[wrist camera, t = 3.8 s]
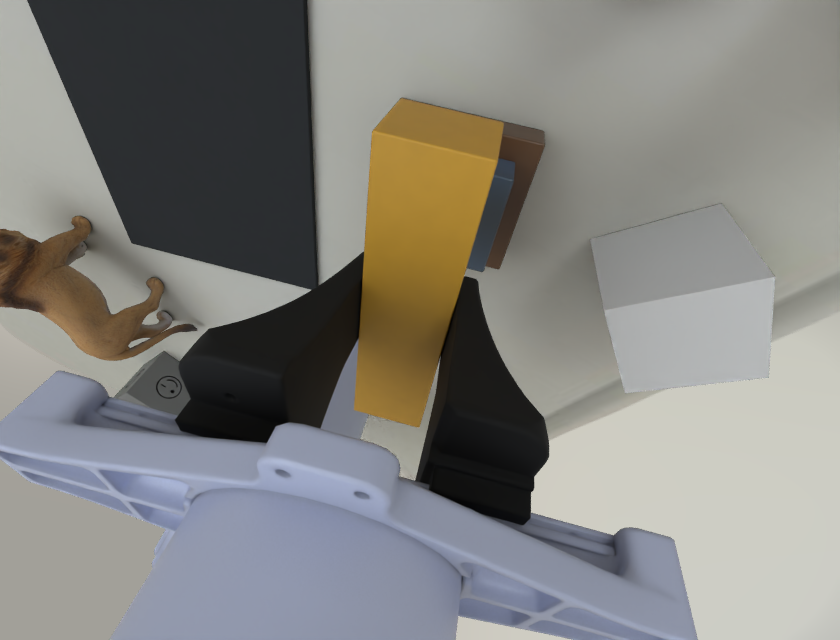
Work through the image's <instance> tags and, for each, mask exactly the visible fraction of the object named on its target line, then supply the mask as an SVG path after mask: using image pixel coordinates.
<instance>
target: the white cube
mask: <svg viewBox="0 0 840 640" xmlns="http://www.w3.org/2000/svg"><path fill="white" fill-rule="evenodd" d="M590 241H591V246H592V251H593V257H594V262H595V267H596V272H597V278H598V283H599V288H600V294H601V299H602V304H603V309H604V314H605V317H606V321H607V325H608V329H609V333H610V337H611V341H612V345H613V349H614V352H615V356H616V360H617V364H618V368H619V372H620V376H621V380H622V384H623V387H624V391H625V393H632V392H641V391H650V390H660V389H669V388H678V387H687V386H696V385H706V384H714V383H724V382H733V381H741V380H751V379H760V378H769V366H770V351H771V335H772V319H773V303H774V287H775V276H774V275H773V273H772V272H771V270H770V269H769V268H768V266H767V265H766V263H765V262H764V261H763V259H762V258H761V257H760V255H759V254H758V252H757V251H756V250H755V248H754V247H753V246H752V244H751V243H750V241H749V240H748V239H747V237H746V236H745V235H744V233H743V232H742V230H741V229H740V228H739V226H738V225H737V223H736V222H735V221H734V219H733V218H732V217H731V215H730V214H729V212H728V211H727V210H726V208H725V207H724V206H723V204H722V203H721V204H717V205H713V206H710V207H706V208H702V209H699V210H695V211H691V212H688V213H684V214H680V215H677V216H673V217H669V218H666V219H662V220H658V221H655V222H651V223H647V224H644V225H640V226H637V227H633V228H629V229H626V230H622V231H618V232H615V233H611V234H607V235H604V236H600V237H596V238H593V239H590Z"/></svg>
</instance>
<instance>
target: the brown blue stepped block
mask: <svg viewBox="0 0 840 640" xmlns="http://www.w3.org/2000/svg"><path fill="white" fill-rule="evenodd" d="M400 99H401V98H400ZM402 99H405V98H402ZM407 100H409V99H407ZM411 101H413V100H411ZM415 102H418V101H415ZM419 103H422V102H419ZM424 104H426V103H424ZM428 105H430V104H428ZM394 106H395V105H394ZM432 106H435V105H432ZM436 107H439V106H436ZM441 108H443V107H441ZM445 109H448V108H445ZM449 110H452V109H449ZM453 111H456V110H453ZM457 112H460V111H457ZM462 113H465V112H462ZM466 114H469V113H466ZM470 115H473V114H470ZM474 116H477V115H474ZM479 117H482V116H479ZM483 118H486V117H483ZM487 119H490V118H487ZM491 120H494V119H491ZM496 121H499V120H496ZM500 122H503V121H500ZM503 123H504V127H503V133H502V139H501V145H500V151H499V157H498V163H497V166H496V170H495V173H494V177H493V180H492V183H491V187H490V190H489V193H488V197H487V200H486V204H485V207H484V210H483V214H482V217H481V221H480V224H479V227H478V231H477V234H476V237H475V241H474V244H473V248H472V251H471V254H470V258H469V261H468V265H467V268H468V269H472V270H476V271H480V272H483V271H484V269H485V266H487V267H491V268H495V269H500V267H501V264H502V261H503V258H504V256H505V253H506V250H507V248H508V245H509V242H510V239H511V237H512V234H513V231H514V229H515V226H516V223H517V220H518V218H519V215H520V212H521V210H522V207H523V204H524V201H525V199H526V196H527V193H528V191H529V188H530V185H531V182H532V180H533V177H534V174H535V172H536V169H537V166H538V163H539V161H540V158H541V155H542V153H543V150H544V147H545V136H544V131H541V130H537V129H533V128H528V127H524V126H520V125H516V124H511V123H507V122H503Z"/></svg>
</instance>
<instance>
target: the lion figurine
mask: <svg viewBox="0 0 840 640" xmlns="http://www.w3.org/2000/svg"><path fill="white" fill-rule="evenodd" d="M71 223H72V224H73V225H74V227H75V228H74V229H73V230H71V231H68V232H64V233H61V234H58V235H56V236H54V237H51V238H49V239H48V240H46V241H44V242H42V243H40V242H38V241H37V240H34V239H31V238H28V237H26V236H25V235H23V234H21V233H20V232H19V231H9V230H6V229H0V307H13V308H16V309H29V310H32V311H36V312H39V313H41V314H42V315H44V316H45V317H47V318H49V319H50V320H51V321H53V322H54V323H56V324H57V325H58V326H59V327H61V328H62V329H63V330H64V331H65V332H66V333H67V334H68V335H69V336H70V338H71V339H72V340H73V342H74V343H75V344H76V346H77V347H78V348H79V349H81V350H82V351H83V352H85V353H86V354H89V355H91V356H94V357H96V358H99V359H103V360H109V361H117V360H123V359H127V358H130V357H133V356H136V355H138V354H140V353H142V352H143V351H145V350H147V349H149V348H150V347H152V346H153V345H155V344H157V343H158V342H160V341H161V340H163V339H164V338H166V337H168V336H169V335H172V334H174V333H177V332H189V331H197V328H196V327H194V326H193V325H191V324H183V325H178V326H175V327H173V328H170V329H168V330H166V331H164V330H165V329H167V328H168V327H169V326H170V325H171V323H172V318H171V316H170V315H169V314H168V313H166V312H164V311H160V312H158V313H157V319H158V320H159V323H157V324H154V325H144V324H142V322H143V320H144V318H145V317H146V316H147V315H148V314H149V313H151V312H153V311H155V310H157V309H158V307H159V302H160V298H161V295H162V293H163V290H164V286H163V284H162V282H161V281H160V280H159V279H157V278H155V277H152V278H150V279H149V280H148V281H147V282H146V285H147V286H148V287H149V288H150V290H151V294H150V296H149V298H148V299H147V300H146V301H145V302H143V303H140V304H138V305H134V306H131V307H129V308H126V309H124V310H122V311H120V312H119V313H117V314H111V313H110V311H109V308H108V305H107V302H106V299H105V297H104V295H103V293H102V292H101V290H100V289H99V288H98V287H97V285H96V284H95V283H93V282H92V281H91V280H90V279H89V278H88V277H86V276H84V275H83V274H81V273H80V272H78V271H77V270H75V269H74V268H72V267H70V266H69V265H70V264H71V263H72V262H73V261H75V260H76V259H78V258H80V257H82V256H84V255H85V252H86V250H87V246H86V244H85V243H84V242H83V241H84V240H86V239H87V237H88V235H89V234H90V232H91V225H90V223H89V221H88V220H87V219H86V218H84V217H81V216H75V217H73V218H72V222H71ZM163 331H164V332H163ZM161 332H162V333H161ZM140 338H150V339H148V340H147V341H144V342H142V343H140V344H138V345H136V346H134V347H132V348H129V346H128V345H129V344H130V343H131V341H134V340H137V339H140Z"/></svg>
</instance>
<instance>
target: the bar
mask: <svg viewBox="0 0 840 640" xmlns="http://www.w3.org/2000/svg"><path fill="white" fill-rule="evenodd" d="M503 127H504V123H503V122H500V121H496V120H491V119H487V118H483V117H479V116H474V115H470V114H466V113H462V112H457V111H453V110H449V109H445V108H441V107H436V106H432V105H428V104H424V103H419V102H415V101H411V100H407V99H402V98H401V99H400V100H399V101H398V102H397V103H396V104H395V106H394V107H393V108H392V109H391V110H390V111H389V112H388V114H387V115H386V116H385V117H384V118H383V119H382V121H381V122H380V123H379V124H378V125H377V126H376V127H375V129H374V130H373V131H372V141H371V156H370V171H369V186H368V202H367V217H366V232H365V247H364V263H363V278H362V293H361V309H360V324H359V339H358V354H357V370H356V385H355V400H354V410H355V411H359V412H363V413H366V414H370V415H374V416H377V417H381V418H385V419H389V420H392V421H396V422H400V423H403V424H407V425H411V426H415V427H420V424H421V420H422V417H423V413H424V410H425V407H426V403H427V400H428V396H429V393H430V390H431V386H432V383H433V380H434V376H435V373H436V369H437V366H438V363H439V359H440V356H441V352H442V349H443V346H444V342H445V339H446V336H447V332H448V329H449V325H450V322H451V319H452V315H453V312H454V309H455V305H456V302H457V298H458V295H459V292H460V288H461V285H462V281H463V278H464V275H465V271H466V268H467V265H468V261H469V258H470V254H471V251H472V248H473V244H474V241H475V237H476V234H477V231H478V227H479V224H480V221H481V217H482V214H483V210H484V207H485V204H486V200H487V197H488V193H489V190H490V187H491V183H492V180H493V177H494V173H495V170H496V166H497V163H498V157H499V151H500V145H501V139H502V133H503Z"/></svg>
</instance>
